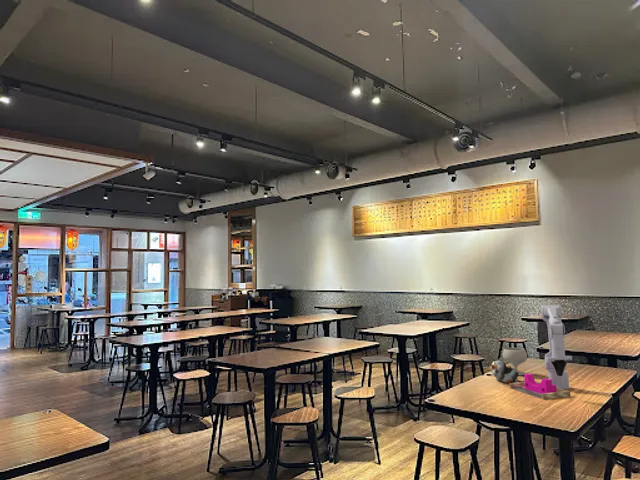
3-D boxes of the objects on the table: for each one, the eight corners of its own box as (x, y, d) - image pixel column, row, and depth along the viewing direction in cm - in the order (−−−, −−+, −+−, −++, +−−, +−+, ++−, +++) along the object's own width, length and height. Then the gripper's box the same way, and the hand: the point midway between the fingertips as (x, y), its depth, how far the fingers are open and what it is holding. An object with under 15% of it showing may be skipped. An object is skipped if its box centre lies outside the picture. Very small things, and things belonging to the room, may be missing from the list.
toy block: (556, 394, 225) (555, 379, 226) (546, 395, 223) (545, 380, 224) (534, 387, 239) (533, 373, 240) (524, 388, 237) (524, 374, 238)
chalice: (513, 370, 284) (512, 346, 285) (533, 374, 272) (531, 349, 273) (498, 373, 277) (497, 348, 278) (518, 377, 265) (517, 351, 266)
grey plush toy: (515, 385, 246) (502, 362, 247) (496, 390, 253) (483, 368, 255) (522, 372, 258) (508, 351, 259) (503, 378, 265) (490, 357, 266)
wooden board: (534, 385, 245) (534, 380, 245) (570, 396, 222) (570, 391, 222) (509, 387, 240) (509, 383, 240) (543, 399, 217) (543, 394, 217)
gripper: (552, 349, 217) (553, 378, 215) (576, 348, 220) (578, 376, 219) (541, 347, 223) (542, 375, 222) (565, 346, 227) (566, 373, 226)
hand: (559, 375), depth 221 cm, fingers closed
